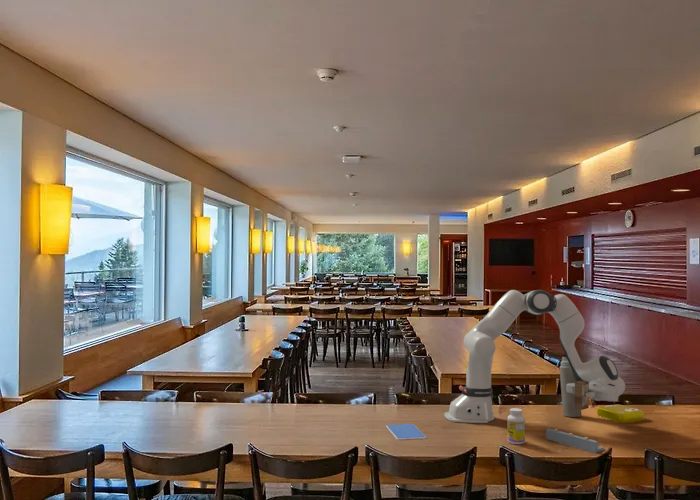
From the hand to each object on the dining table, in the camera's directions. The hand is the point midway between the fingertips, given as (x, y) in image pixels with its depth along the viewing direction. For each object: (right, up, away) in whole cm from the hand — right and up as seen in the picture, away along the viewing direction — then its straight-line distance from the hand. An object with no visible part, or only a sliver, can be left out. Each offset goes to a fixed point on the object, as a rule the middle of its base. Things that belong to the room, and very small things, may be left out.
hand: (580, 393), depth 235 cm
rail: (-8, -16, -14) cm, 23 cm away
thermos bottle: (+8, -17, +28) cm, 34 cm away
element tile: (+29, -18, +27) cm, 44 cm away
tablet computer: (-73, -17, 0) cm, 75 cm away
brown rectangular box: (+1, -6, 0) cm, 6 cm away
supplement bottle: (-30, -16, -12) cm, 36 cm away
